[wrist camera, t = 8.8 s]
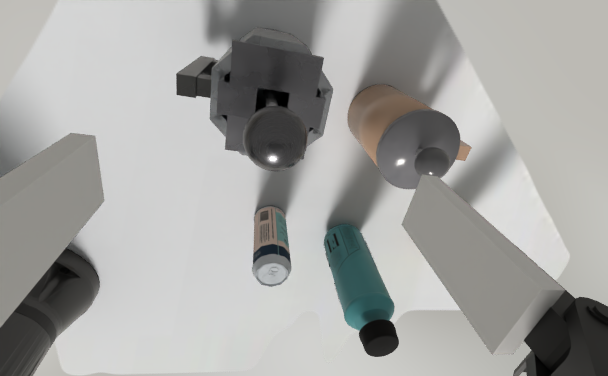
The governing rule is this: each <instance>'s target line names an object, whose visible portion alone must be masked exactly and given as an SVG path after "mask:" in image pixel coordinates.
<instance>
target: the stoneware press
mask: <svg viewBox="0 0 608 376" xmlns="http://www.w3.org/2000/svg"><path fill="white" fill-rule="evenodd" d="M348 125H349V128H350V131H351V132H352V134H353V135H354V136H355V138H356V139H357V140H358V142H359V143H360V144H361V146H362V147H363V148H364V150H365V151H366V152H367V154H368V155H369V156H370V158H371V159H372V160H373V162H374V163H375V164H376V165H377V167H378V169H379V171H380V172H381V174H382V175H383V176H384V178H385V179H386V180H387V181H388V182H389V183H391V184H392V185H394V186H396V187H399V188H403V189H416V188H417V186H418V184H419V181H420V179H421V176H422V175H430V176H438V177H439V178H441V177H443V176H444V175H445V174H446V173H447V172H448V170H449V169H450V167H451V166H452V165H453V163H454V161H455V159H456V160H463V161H465V160H466V158H467V156H468V154H469V152H470V149H471V146H469V145H467V144H466V143H464V142H463V141H461V140H460V134H459V130H458V128H457V126H456V124H455V123H454V122H453V120H452V119H450V118H449V117H448V116H446V115H445V114H443V113H441V112H439V111H436V110H433V109H431V108H430V107H428V106H426V105H424V104H422V103H421V102H419V101H417V100H415V99H414V98H412V97H410V96H408V95H406V94H405V93H403V92H401V91H399V90H397V89H396V88H394V87H392V86H389V85H385V84H378V85H373V86H370V87H368V88H366V89H364V90H363V91H361V92H360V93H359V94H358V95H357V96H356V97H355V98H354V100H353V101H352V103H351V105H350V108H349V111H348Z"/></svg>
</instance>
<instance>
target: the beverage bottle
mask: <svg viewBox="0 0 608 376" xmlns="http://www.w3.org/2000/svg"><path fill="white" fill-rule="evenodd" d="M363 238H364V236H363V235H362V234H361V232H360V231H359V230H358V229H357V228H356V227H354V226H352V225H348V224H342V225H338V226H335V227H333V228H332V229H330V230H329V231H328V232H327V234H326V236H325V239H324V244H323V245H324V246H325V250H326V253H327V254H326V255H327V256H326V257H328V258H327V260H328V261H329V267H331V271H332V274H333V278H334V282H335V283H334V284H335V286H336V290H337V291H336V293H337V292H338V293H337V295H338V296H339V297H338V296H337V297H338V299H340V301H339V302H341V305H342V309H343V312H344V318H345V321H346V322H347V324H348V325H349V326H351V327H352V328H354V329H357V330H360V332H359V337H360V340H361V342H362V344H363V346H364V349H365V351H366V353H367V354H368V355H370V356H374V357H380V356H385V355H388V354H390V353H392V352H393V351H394V350H395V349H396V348H397V347H398V344H399V340H398V337H397V334H396V330H395V327H394V325H393V323H392V322H391V321H389V320H390V318H391V317H392V315H393V313H394V303H393V301H392V299H391V298H390V296H389V293H388V291H387V289H386V287H385V285H384V283H383V280H382V278H381V276H380V274H379V272H378V270H377V267H376V264H375V262H374V260H373V258H372V256H371V254H372V253H371V254H370V252H371V251H369V248H368V246H367V245H366V244H367V243H366V240H365V241H364V239H363Z"/></svg>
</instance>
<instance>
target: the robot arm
mask: <svg viewBox="0 0 608 376" xmlns="http://www.w3.org/2000/svg"><path fill="white" fill-rule="evenodd" d="M103 202H104V195H103V188H102V181H101V174H100V166H99V159H98V152H97V145H96V138H95V136H92V135H84V134H75V133H70V134H69V135H67V136H66V137H64V138H62V139H61V140H59V141H58V142H56V143H54V144H53V145H51V146H50V147H48V148H47V149H45V150H43V151H42V152H40V153H39V154H37V155H35V156H34V157H32V158H31V159H29V160H28V161H26V162H24V163H23V164H21V165H20V166H18V167H17V168H15V169H13V170H12V171H10V172H9V173H7V174H5V175H4V176H2V177H1V178H0V376H33V374H34V373H35V371H36V370H37V368H38V366H39V365H40V363H41V361H42V360H43V358H44V357H45V355H46V353H47V352H48V350H49V348H50V347H51V345H52V344H53V342H54V341H55V339H56V338H57V336H58V335H60V334H61V333H62V332H63V331H64V330H65V329H66V328H68V327H69V326H70V325H71V324H72V323H73V322H74V321H75V320H76V319H77V318H79V317H80V316H81V315H82V314H84V313H85V312H86V311H87V310H88V308H89V307H90V306H91V304H92V303H93V301H94V299H95V297H96V296H97V294H98V291H99V280H98V277H97V274H96V273H95V271H94V269H93V268H92V267H91V266H90V265H89V264H88V263H87V262H86V261H85V260H84V259H82V258H81V257H80V256H78V255H77V254H75V253H73V252H71V251H69V250H67V249H65V248H66V247H67V246H68V245H69V243H70V242H71V241H72V240H73V238H74V237H75V236H76V235H77V234H78V232H79V231H80V230H81V229H82V228H83V226H84V225H85V224H86V223H87V221H88V220H89V219H90V218H91V217H92V215H93V214H94V213H95V212H96V211H97V209H98V208H99V207H100V206H101V204H102V203H103ZM402 226H403V227H404V229H405V230H406V231H407V233H408V234H409V236H410V237H411V239H412V240H413V242H414V243H415V244H416V246H417V247H418V249H419V250H420V252H421V253H422V254H423V256H424V257H425V259H426V260H427V262H428V263H429V265H430V266H431V267H432V269H433V270H434V272H435V273H436V275H437V276H438V278H439V279H440V280H441V282H442V283H443V285H444V286H445V288H446V289H447V291H448V292H449V293H450V295H451V296H452V298H453V299H454V301H455V302H456V303H457V305H458V306H459V308H460V309H461V311H462V312H463V314H464V315H465V316H466V318H467V319H468V321H469V322H470V324H471V325H472V327H473V328H474V329H475V331H476V332H477V334H478V335H479V337H480V338H481V339H482V341H483V342H484V344H485V345H486V347H487V348H488V350H489V351H490V352H491V354H492V355H503V354H514V353H515V352H516V350H517V349H518V348H519V347H520V345H521V344H522V343H523V342H524V341H525V342H526V344H527V345H528V346H529V347H530V349H531V350H532V351H531V352H530V353H529V354H528V355H527V356H526V358H525V359H524V360H523V361H522V362H521V364H520V365H519V366H518V367H517V368H516V369H515V371H514V374H513V376H519V375H520V374H521V373H522V372H527V376H608V306H606V305H604V304H602V303H600V302H598V301H595V300H592V299H589V298H584V297H579V298H576V299H575V298H574V297H573V296H572V295H571V294H570V293H568V292H567V291H566V290H565V289H564V288H563V287H562V286H560V285H559V284H558V283H557V282H556V281H555V280H554V279H553V278H552V277H550V276H549V275H548V274H547V273H546V272H545V271H544V270H543V269H541V268H540V267H539V266H538V265H537V264H536V263H535V262H534V261H532V260H531V259H530V258H529V257H527V255H526V254H525V253H523V252H522V251H521V250H520V249H519V248H518V247H517V246H515V245H514V244H513V243H512V242H511V241H509V240H508V239H507V238H506V237H505V236H504V235H503V234H502V233H500V232H499V231H498V230H497V229H496V228H495V227H494V226H493V225H491V224H490V223H489V222H488V221H487V220H486V219H485V218H484V217H482V216H481V215H480V214H479V213H478V212H477V211H476V210H475V209H473V208H472V207H471V206H470V205H469V204H468V203H467V202H466V201H464V200H463V199H462V198H461V197H460V196H459V195H458V194H457V193H455V192H454V191H453V190H452V189H451V188H450V187H449V186H448V185H447V184H445V183H444V182H443V181H442V180H441V179H440V178H439V177H438V176H430V175H422V176H421V179H420V181H419V184H418V186H417V188H416V191H415V193H414V196H413V198H412V201H411V203H410V206H409V208H408V211H407V213H406V215H405V218H404V220H403V223H402Z"/></svg>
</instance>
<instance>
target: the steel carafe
mask: <svg viewBox="0 0 608 376" xmlns="http://www.w3.org/2000/svg"><path fill="white" fill-rule="evenodd" d="M323 60H324V58H323V57H320V56H315V55H312V54H311V52H310V50H309V49H308V47H307V46H306V45H305V44H304V43H302V42H301V41H299V40H298V39H297V38H295V37H294V36H292V35H291V34H288V33H284V32H280V31H277V30H273V29H264V28H259V27H256V28H254V29H253V30H252V31H251V32H249V33H248V34H246V35H245V36H243V37H242V38H241V39H240V40H239V41H238V40H233V43H232V47H231V48H230V49H229V50H228V51H227V52H226V53H225V54H224V55H223V56H222V58H221V59H220V60H219V61H218V60H215V58H209V57H204V56H200V57H199V58H198V59H196V60H195V61H193V62H192V63H191V64H189V65H188V66H186V67H185V68H184V69H182V70H181V71H179V72H178V73H177V74H176V75H177V95H181V96H188V97H194V98H196V96H202V97H209V98H211V101H210V120H211V121H212V122H213V123H214V124H215V126H216V127H217V128H218V129H219V130H220V131H221V132H222V133H223V135H224V136H225V137H226V144H225V150H233V151H239V153H240V154H241V155H246V156H248V155H247V153H246V151H245V149H244V145H243V131H244V128H245V125H246V123H247V121H248V120H249V118H250V117H251V116H252V115H253V114H254V113H255V112H257V111H258V110H260V109H257V108H255V107H256V98H257V89H258V88H264V89H270V90H276V91H282V92H288V93H289V96H288V103H287V106H286V107H285V108H288V109H290V110H292V111H293V112H294V113H296V114H297V115H298V116H299V117H300V118H301V120H302V121H303V123H304V125H305V127H306V131H307V136H308V142H307V146H308V145H309V144H311V143H312V142H314V141H315V140H317V139H318V138H320V137H321V136H323V133H324V128H325V124H326V120H327V115H328V111H329V106H330V102H331V98H332V93H333V88H332V86H331V85H330V83H329V81H328V80H327V78H326V76H325V75H324V73H323V71H322V65H323ZM304 154H305V153H304ZM303 158H304V155H303V156H302V158H301V159H303Z"/></svg>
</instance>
